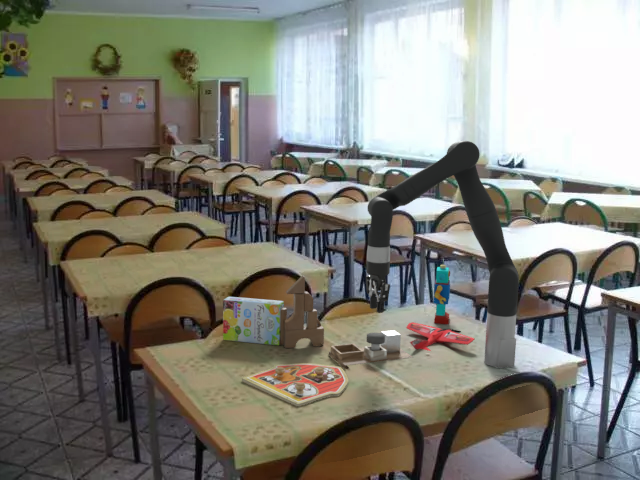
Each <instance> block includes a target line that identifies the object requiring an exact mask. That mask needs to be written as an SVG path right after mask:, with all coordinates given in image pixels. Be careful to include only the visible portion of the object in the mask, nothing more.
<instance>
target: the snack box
mask: <svg viewBox="0 0 640 480" xmlns="http://www.w3.org/2000/svg"><path fill="white" fill-rule="evenodd" d="M284 305H285V301H284V300H276V299H275V300H274V299H263V298H252V297H251V298H250V297H241V296H239V297H237V296H227V297H225V298H224V299H222V313H223V314H222V338H223V341H231V342H232V341H233V342H242V343H249V344H250V343H252V344H261V345H271V346H272V345H273V346H280V312H281V309H282V308H283V307H284V308H285V306H284Z"/></svg>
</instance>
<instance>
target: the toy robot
mask: <svg viewBox="0 0 640 480" xmlns="http://www.w3.org/2000/svg"><path fill="white" fill-rule="evenodd" d="M442 262H444V258H443V259H442ZM450 276H451V271H450V267H447V265H446V264H440V266H437V268H436V276H435V277H436V278H435V281H434V285H433V287H434V289H433V304H436V309H435V314H434V321H433V323H434V324H440V325H449V321H450V313H448V312H446V305H449V300H450V293H451V283H450Z"/></svg>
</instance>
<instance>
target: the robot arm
mask: <svg viewBox="0 0 640 480" xmlns="http://www.w3.org/2000/svg"><path fill="white" fill-rule="evenodd" d="M480 155H481V154H480V150H479V147H478V146H477V144H475V143H474V142H472V141H469V140H460V141H456V142H454V143H452V144H451V145H450V146H449V147H448V148H447V150H446V154H445V155H444V156H442V158H440V159H439V160H437V161H435V162H434V163H433V164H431V165H429V166H427V167H426V168H425V167H424V168H423V169H421V170H420V171H417V172H416V173H414V174H412V175H410V176H409V177H407V178H406V179H404V180H402V181H401V182H399V183H398V184H397V185H395V186H394V187H392V188H390V189H387V190H386V191H383V192H381V193H380V194H377V195H375V196H374V197H373V198H371V200H369V202H368V204H367V212H368V214H369V216H371V218H370V219H371V220H370V228H369V230H368V234H367V235H368V237H367V250H366V271H365V272H366V274H368V275H365V285H366V286H365V287H366V293H367V295H368V297H370V299H369V309H371V310H373V309H376V313H378V314H381V313H382V314H383V313H384V312H385V302H388V301H389V295H390V290H391V284H390V283H389V284H388V283H387V280H386V276H387V275H388V276H389V275H390V273H391V272H390V271H391V270H390V269H391V267H390V265H391V247H390V246H391V245H390V244H391V229H392V224H393V218H394V210H396V209H397V208H399V207H403V206H407V205H409V204H410V203H412V202H413V201H415V200H416V199H418V198H420V197H421V196H422V195H424V194H426V193H427V192H428V191H431V189H433V188H434V187H435V186H437V185H439V184H440V183H442V182H443V181H445V180H446V179H449V178H450V177H454V179H455V181H456V183H457V186H458V188H459V191H460V195H461V200H462V202H463V206H464V210H465V212H466V215H467V219H468V222H469V224H470V228H471V231H472V233H473V234H474V237H475V238H476V240H477V242H478V244H479V246H480V247H481V249H482V251H483V253H484V256H485V260H486V262H487V263H486V264H487V266H488V267H487V268H488V272H489V279H488V290H487V291H488V294H487V313H486V324H485V325H486V328H485V343H484V363H485V364H486V365H488V366H491V367H494V368H497V369H504V368H511V367H515V363H516V362H515V361H516V360H515V359H516V348H517V338H516V323H517V310H518V298H519V297H518V296H519V283H520V281H519V280H520V279H519V278H520V277H519V273H518V272H519V271H518V270H517V267H516V266H515V263H514V262H513V260H512V257H511V255H510V253H509V251H508V248H507V245H506V242H505V238H504V231H503V227H502V224H501V221H500V220H501V219H500V216H499V214H498V211H497V208H496V205H495V203H494V201H493V200H492V197H491V195H490V194H489V193H488V190H486V188H485V186H484V185H483V183H482V181H481V178H480V176H479V173H478V168H477V163H478V162H479V160H480Z"/></svg>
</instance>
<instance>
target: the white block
mask: <svg viewBox="0 0 640 480" xmlns="http://www.w3.org/2000/svg"><path fill="white" fill-rule="evenodd" d="M380 333H382V334H384V335H385V342H384V343H382V344H380V346H381V347H383V348H384V349H386V350H387V353H391V352H400V349H401V338H402V337H401V335H402V334H400V332H398V331H396V330H395V329H393V330H382V331H380Z"/></svg>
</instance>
